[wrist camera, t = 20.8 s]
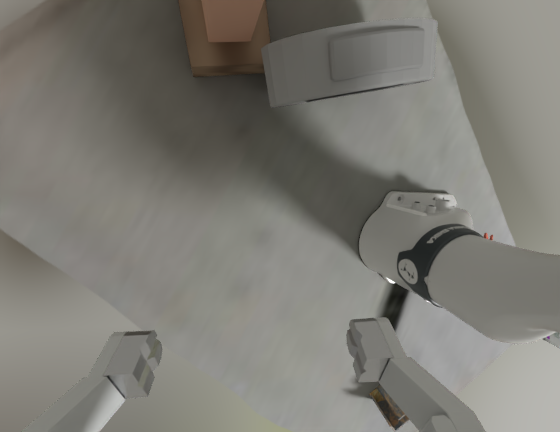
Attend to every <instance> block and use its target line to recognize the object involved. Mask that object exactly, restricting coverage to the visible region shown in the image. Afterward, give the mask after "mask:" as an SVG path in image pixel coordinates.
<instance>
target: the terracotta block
mask: <svg viewBox="0 0 560 432" xmlns="http://www.w3.org/2000/svg"><path fill="white" fill-rule="evenodd" d="M201 1H202V7H203V13H204V18H205V24H206V30H207V36H208V42H246V41H251V38H252V35H253V32H254V29H255V26H256V23H257V20H258V17H259V14H260V11H261V8H262V5H263V2H264V0H201Z"/></svg>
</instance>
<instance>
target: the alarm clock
mask: <svg viewBox="0 0 560 432" xmlns="http://www.w3.org/2000/svg"><path fill="white" fill-rule="evenodd" d="M437 25H438V22H437V21H436V20H434V19H427V18H399V19H386V20H376V21H368V22H360V23H353V24H347V25H341V26H335V27H329V28H324V29H319V30H315V31H310V32H306V33H301V34H297V35H294V36H290V37H287V38H283V39H280V40H277V41H275V42H272V43H269V44H267V45H265V46H264V47H263V48H261V53H262V59H263V65H264V71H265V77H266V83H267V89H268V95H269V101H270V106H271V107H272V108H274V107H282V106H289V105H296V104H302V103H308V102H314V101H320V100H326V99H332V98H338V97H343V96H349V95H355V94H361V93H366V92H372V91H377V90H383V89H388V88H394V87H399V86H404V85H409V84H415V83H420V82H424V81H429V80H431V79H433V77H434V68H435V54H436V40H437Z"/></svg>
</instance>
